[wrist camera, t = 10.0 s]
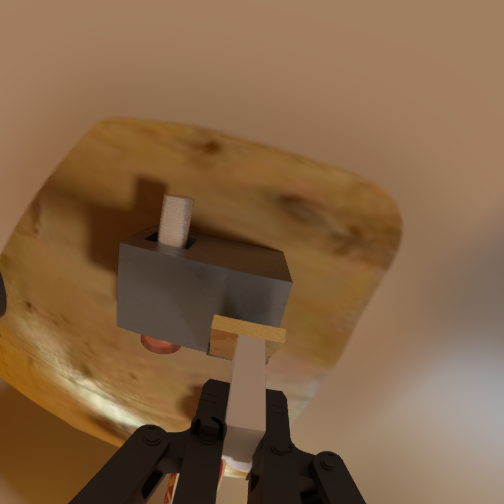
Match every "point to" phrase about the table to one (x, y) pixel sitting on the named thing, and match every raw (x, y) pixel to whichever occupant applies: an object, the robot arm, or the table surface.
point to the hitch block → (197, 286)
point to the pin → (173, 234)
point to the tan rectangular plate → (229, 329)
